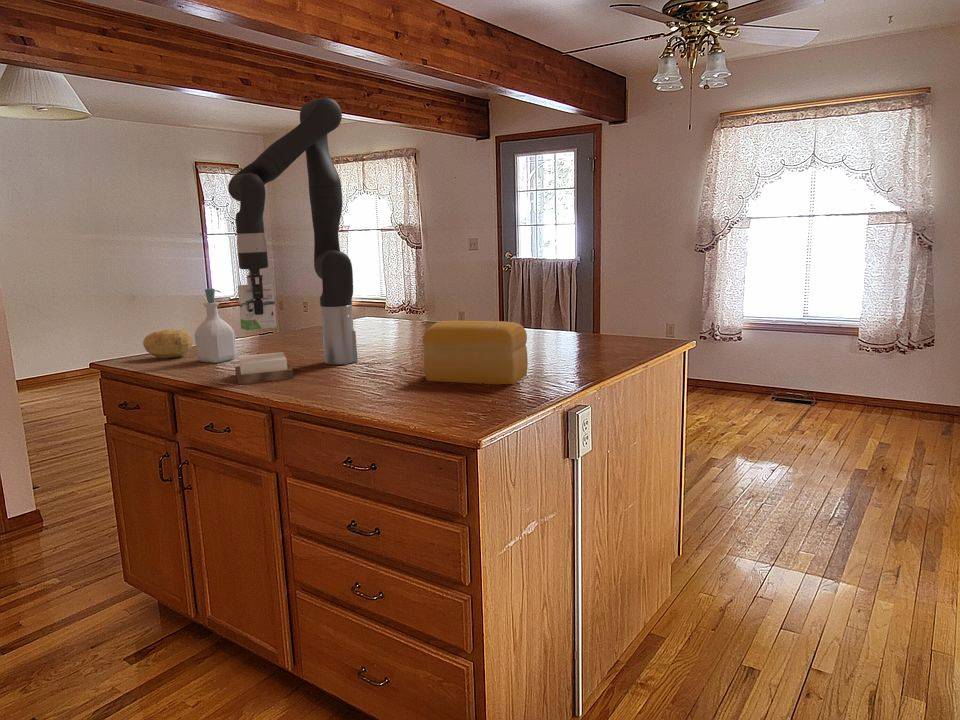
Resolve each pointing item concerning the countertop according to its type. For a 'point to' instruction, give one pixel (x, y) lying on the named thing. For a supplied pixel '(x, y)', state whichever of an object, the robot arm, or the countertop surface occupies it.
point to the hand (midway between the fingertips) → (258, 313)
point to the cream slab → (262, 363)
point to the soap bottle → (214, 335)
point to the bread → (475, 352)
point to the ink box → (247, 308)
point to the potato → (168, 343)
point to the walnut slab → (263, 376)
